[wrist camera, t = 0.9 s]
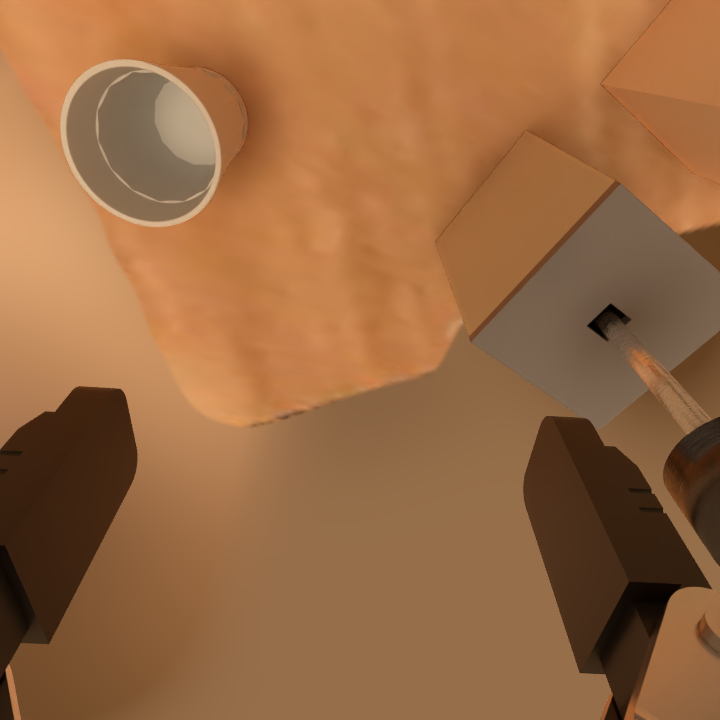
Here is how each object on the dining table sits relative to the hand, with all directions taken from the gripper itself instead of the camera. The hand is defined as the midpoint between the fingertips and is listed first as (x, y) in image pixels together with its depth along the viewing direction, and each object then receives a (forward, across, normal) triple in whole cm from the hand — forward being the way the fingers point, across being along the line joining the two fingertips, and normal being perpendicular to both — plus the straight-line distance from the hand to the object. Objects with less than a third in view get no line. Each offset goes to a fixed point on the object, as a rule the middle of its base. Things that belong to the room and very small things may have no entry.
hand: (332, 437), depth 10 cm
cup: (+32, +11, 0) cm, 34 cm away
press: (+32, -13, +6) cm, 35 cm away
